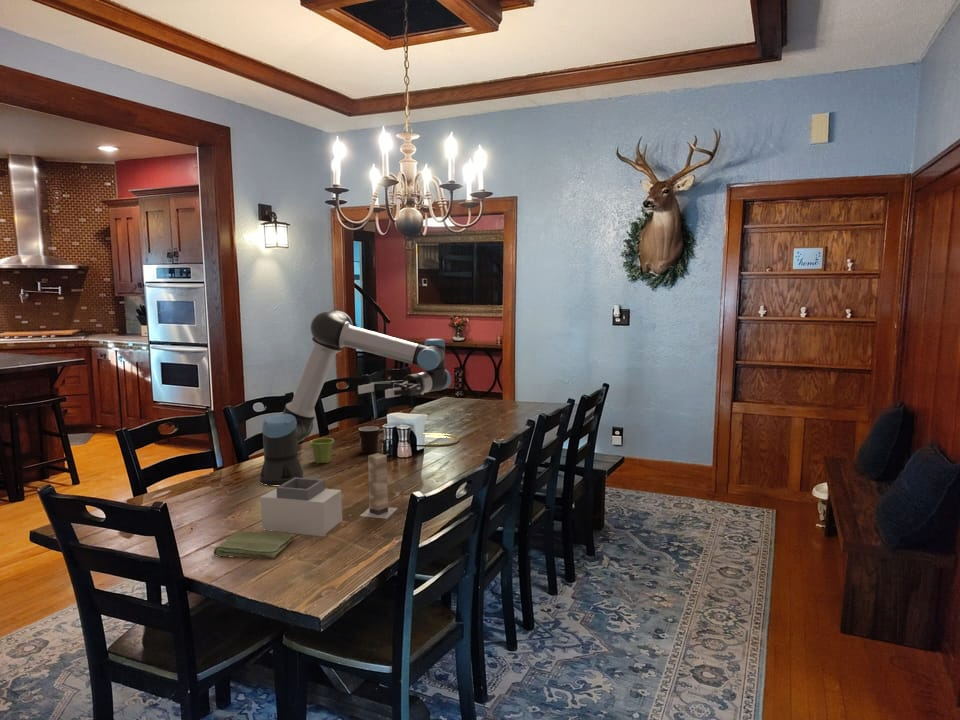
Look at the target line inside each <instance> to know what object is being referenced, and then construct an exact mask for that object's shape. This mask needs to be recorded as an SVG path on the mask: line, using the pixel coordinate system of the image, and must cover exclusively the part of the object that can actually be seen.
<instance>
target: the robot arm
mask: <svg viewBox="0 0 960 720" xmlns="http://www.w3.org/2000/svg"><path fill="white" fill-rule="evenodd" d="M310 332H311V335H312V338H311V341H312V343H313V347H312V350H311V352H310V354H309V357H308V360H307V363H306V364H305V367H304V369H303V372H302V375H301V378H300V380H299V382H298V385H297V388H296V390H295V393H294V395H293V398H292V401H289V402H288V403H286V404H285V406H284V409H283V412H282V413H278V414H277V413H276V414H274V415H270V416H268V417H266V418H265V419H264V420H263V422H262V429H261V431H262V432H261V433H262V441H263V442H262V443H263V444H262V445H263V459H264V460H263V464H262V468H261V472H260V474H259V482H261V483H263V484H267V485H282V484H284V483H286V482H287V481H289V480H291V479H293V478H294V477H298V478H304V471H303V468H302V465H301V463H300V460H299V455H298V453H299V452H298V444H299V443H300V442H302V441H304V440H306V439H307V438H308V437H309V436H310V435H311V433H312V431H313V429H314V426H315V425H314V424H315V423H314V420H315V417H316V412H315V410H314V409H315V407H316V403H317V401H318V399H319V396H320V394H321V391H322V389H323V386H324V384H325V381H326V379H327V376H328V374H329V371H330V369H331V367H332V364H333V362H334V360H335V358H336V355H337V354H338V353H340V352H342V351H343V348H344V347H347V348H352V349H354V350H355V349H356V350H358V351H363V352H366V353H371V354H374V355H376V356H381V357H384V358H388V359H392V360H396V361H400V362H403V363H407V364H410V365H414V366H417V367H419V368H421V369H422V370H424V371H422V372H417V373H412V374H407V375H406V376H404V378H402V380H401V379H400V380H394V379H393V380H389V381H373V382H368V384H362V385H357V392H358V393H357V394H358V395H361V394H367V393H374V392H375V391H384V398H385V399H390V398H395V397H400V396H403V397H404V396H408V397H410V396H416V395H421V396H422V395H423V396H424V394H425V393H430V392H435V391H436V392H437V391H442V390H444V389H447V388H449V387H450V385H451V383H452V376H451V373H450V371H448V370H447V369H446V345H445V339H442V338H426V339H424V340H425V341H424V344H419V343H415V342H412V341H408V340H405V339H402V338H397V337H393V336H390V335H387V334H384V333H379V332H377V331H373V330H368V329H365V328H362V327H358V326H354V324H353V321H352V319H351V317H350V316H349V315H348V314H347V313H346V312H344V311H342V310H336V309H335V310H334V309H333V310H329V311H324V312H323V311H322V312H320V313H318V314H317V315H315V317H314V318H313V319H312V321H311V323H310ZM261 483H260V484H261ZM263 484H262V485H263Z"/></svg>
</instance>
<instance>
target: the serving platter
mask: <svg viewBox="0 0 960 720" xmlns="http://www.w3.org/2000/svg"><path fill="white" fill-rule="evenodd" d="M424 434H425V438H446V437H447V438H449V439H452V438H453V439H452V440H454V439H455V440H456V441H455V440H454V441H452V442H448V443H424V444H425V446H424V447H445V446H446V445H447V446H450V445H451V444H452V445H455V444H457V443H458V441H459V440H460V438H459V436H457V435H453V434H448V433H424ZM454 443H455V444H454Z"/></svg>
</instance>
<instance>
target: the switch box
mask: <svg viewBox="0 0 960 720" xmlns="http://www.w3.org/2000/svg"><path fill="white" fill-rule="evenodd" d="M342 502H343V501H342V489H331V488H326V480H325V479H324V478H323V479H320V478H311V477H310V478H309V477H303V478H298V477H294V478H293V479H291V480H289V481H287V482H286V483H284V484H282V485H280V486H276V488H274V489H272V490H270V491H268V492H266V493H265V494H263V495H261V496H260V512H261V514H260V515H261V530H262V529H265V530H272V531H271V532H275V531H278V532H281V533H285V532H287V533H286V534H294V533H296V534H295V535H304V536H305V535H306V536H316V537H326V536H328V534H329V532H330V531H331V530H332V529H333V528H335V527H336V526H338V524H340V523H341V522H342V521H343V506H342V505H343V503H342ZM265 530H264V531H265Z"/></svg>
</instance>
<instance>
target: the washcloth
mask: <svg viewBox="0 0 960 720" xmlns="http://www.w3.org/2000/svg"><path fill="white" fill-rule="evenodd" d="M293 539H294V535H292V534H291V533H285V532H275V531H268V532H267V531H266V532H257V531H247V530H246V531H244V530H241V531H236V532H234V533H232V534H231V535H229V537H228V538H227V539H226V541H224V542H221V543H220V544H218V545H217V546H216V547H215V548H214V549H213V555H214V556H215V555H217V556H223V557H222V558H228V557H229V556H233V557H235V558H236V557H251V559H275V558H276V557H277V556H278V555H279V553H280V552H282V550H284V549H286V547H287V546H288V545H289V544H290V542H291V541H292V540H293ZM217 556H216V557H217ZM252 557H253V558H252ZM254 557H255V558H254ZM256 557H258V558H256Z"/></svg>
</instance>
